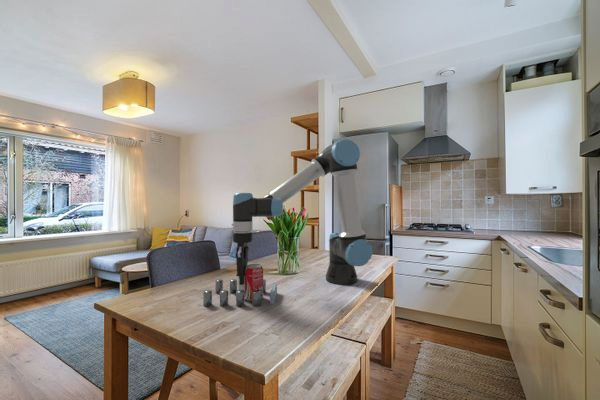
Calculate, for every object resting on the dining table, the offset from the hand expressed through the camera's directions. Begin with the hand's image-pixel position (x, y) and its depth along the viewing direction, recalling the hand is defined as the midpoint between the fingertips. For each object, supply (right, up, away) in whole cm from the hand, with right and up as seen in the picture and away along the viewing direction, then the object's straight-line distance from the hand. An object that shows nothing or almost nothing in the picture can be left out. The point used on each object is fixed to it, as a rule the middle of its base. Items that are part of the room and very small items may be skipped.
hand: (242, 292), depth 106 cm
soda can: (+5, -3, -1) cm, 6 cm away
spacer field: (-2, -2, 0) cm, 3 cm away
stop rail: (+12, -2, 0) cm, 13 cm away
